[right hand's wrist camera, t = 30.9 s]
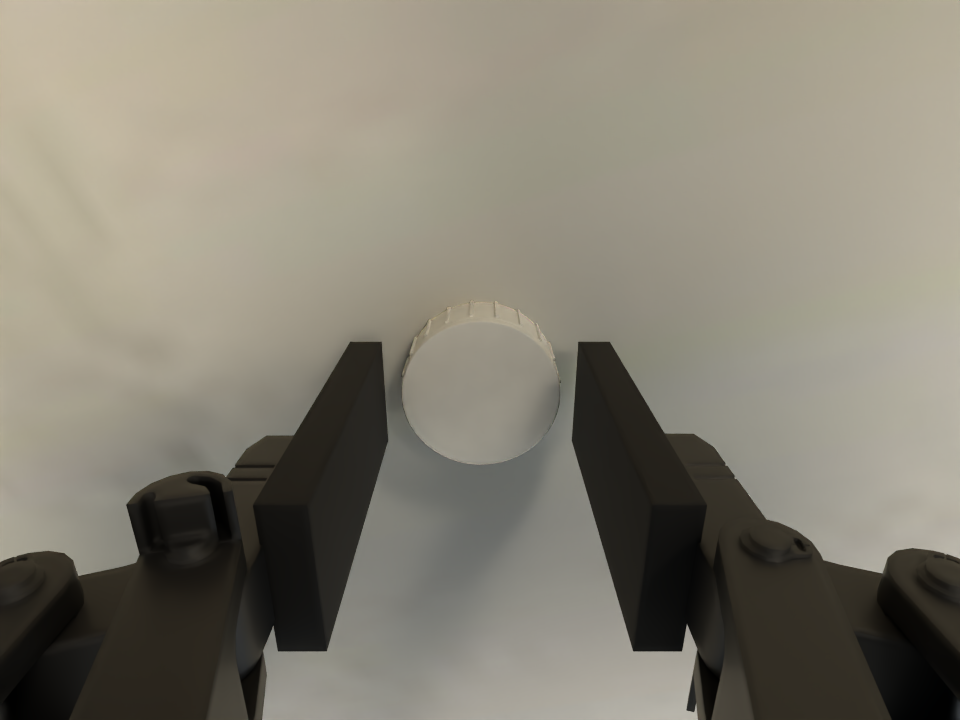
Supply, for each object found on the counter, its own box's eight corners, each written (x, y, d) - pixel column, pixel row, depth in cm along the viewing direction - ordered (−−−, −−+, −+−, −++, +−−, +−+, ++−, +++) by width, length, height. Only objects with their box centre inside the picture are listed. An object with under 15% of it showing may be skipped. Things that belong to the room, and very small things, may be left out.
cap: (432, 449, 17) (428, 481, 15) (387, 322, 15) (377, 344, 14) (568, 415, 16) (577, 445, 15) (534, 282, 15) (540, 300, 13)
